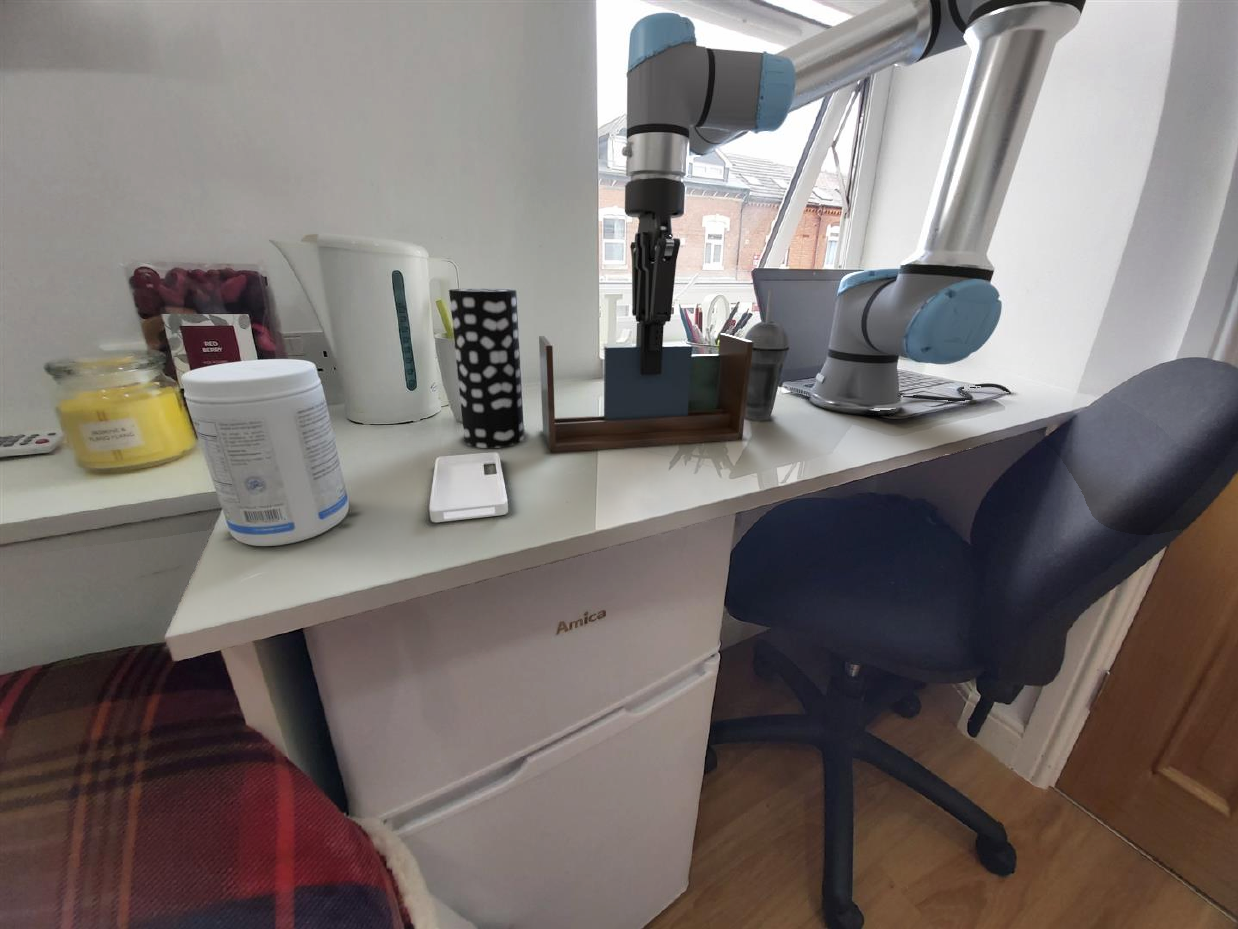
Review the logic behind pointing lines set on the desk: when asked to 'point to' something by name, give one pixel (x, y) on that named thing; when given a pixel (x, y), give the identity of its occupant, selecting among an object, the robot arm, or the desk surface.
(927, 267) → the robot arm
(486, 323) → the white-spotted black cylinder
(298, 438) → the supplement tub
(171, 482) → the desk surface
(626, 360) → the book
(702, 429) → the wooden desk organizer
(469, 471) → the phone case
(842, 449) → the desk surface
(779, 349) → the beverage cup
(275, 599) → the desk surface
